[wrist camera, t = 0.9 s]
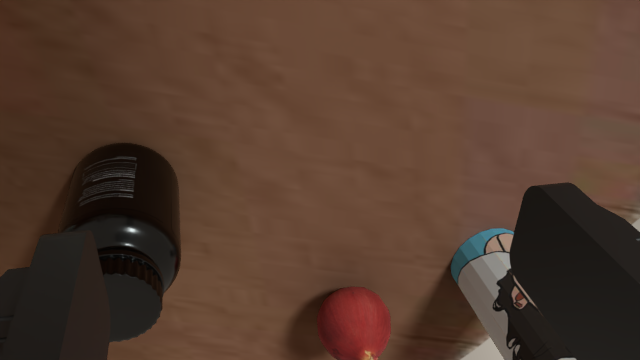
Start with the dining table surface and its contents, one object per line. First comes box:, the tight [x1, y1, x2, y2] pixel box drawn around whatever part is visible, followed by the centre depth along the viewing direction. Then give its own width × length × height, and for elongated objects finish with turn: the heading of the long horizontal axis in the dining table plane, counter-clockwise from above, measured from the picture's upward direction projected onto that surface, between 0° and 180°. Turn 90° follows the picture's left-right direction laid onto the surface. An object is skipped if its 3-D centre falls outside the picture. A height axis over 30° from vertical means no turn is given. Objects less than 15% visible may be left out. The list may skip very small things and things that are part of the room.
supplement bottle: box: [58, 143, 181, 342], centre depth 33 cm, size 7×7×12 cm
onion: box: [317, 287, 391, 360], centre depth 44 cm, size 6×6×8 cm
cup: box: [451, 228, 577, 360], centre depth 43 cm, size 7×7×15 cm
